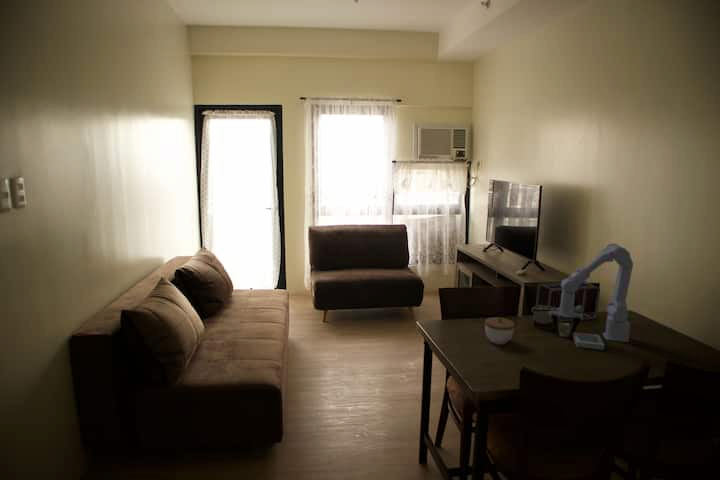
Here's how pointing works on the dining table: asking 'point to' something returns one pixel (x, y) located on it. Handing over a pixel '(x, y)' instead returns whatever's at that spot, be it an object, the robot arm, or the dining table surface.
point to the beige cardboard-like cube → (564, 329)
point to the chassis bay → (588, 341)
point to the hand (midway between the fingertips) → (564, 331)
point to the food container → (542, 316)
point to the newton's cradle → (578, 308)
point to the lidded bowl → (499, 330)
